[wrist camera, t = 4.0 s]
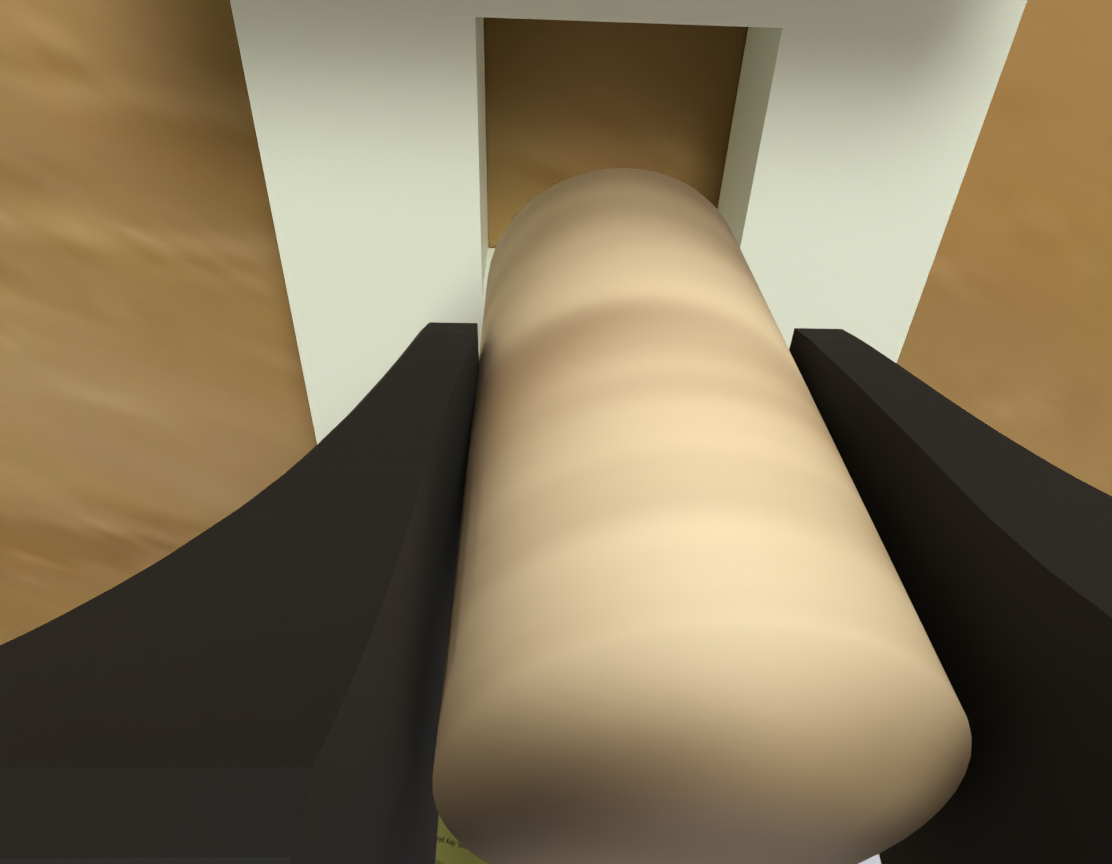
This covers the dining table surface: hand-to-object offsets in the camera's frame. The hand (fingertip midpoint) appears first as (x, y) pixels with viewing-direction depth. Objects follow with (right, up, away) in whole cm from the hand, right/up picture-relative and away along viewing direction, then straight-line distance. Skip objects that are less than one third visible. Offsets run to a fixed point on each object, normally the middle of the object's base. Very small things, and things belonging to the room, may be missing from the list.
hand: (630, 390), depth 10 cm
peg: (0, +2, +2) cm, 3 cm away
